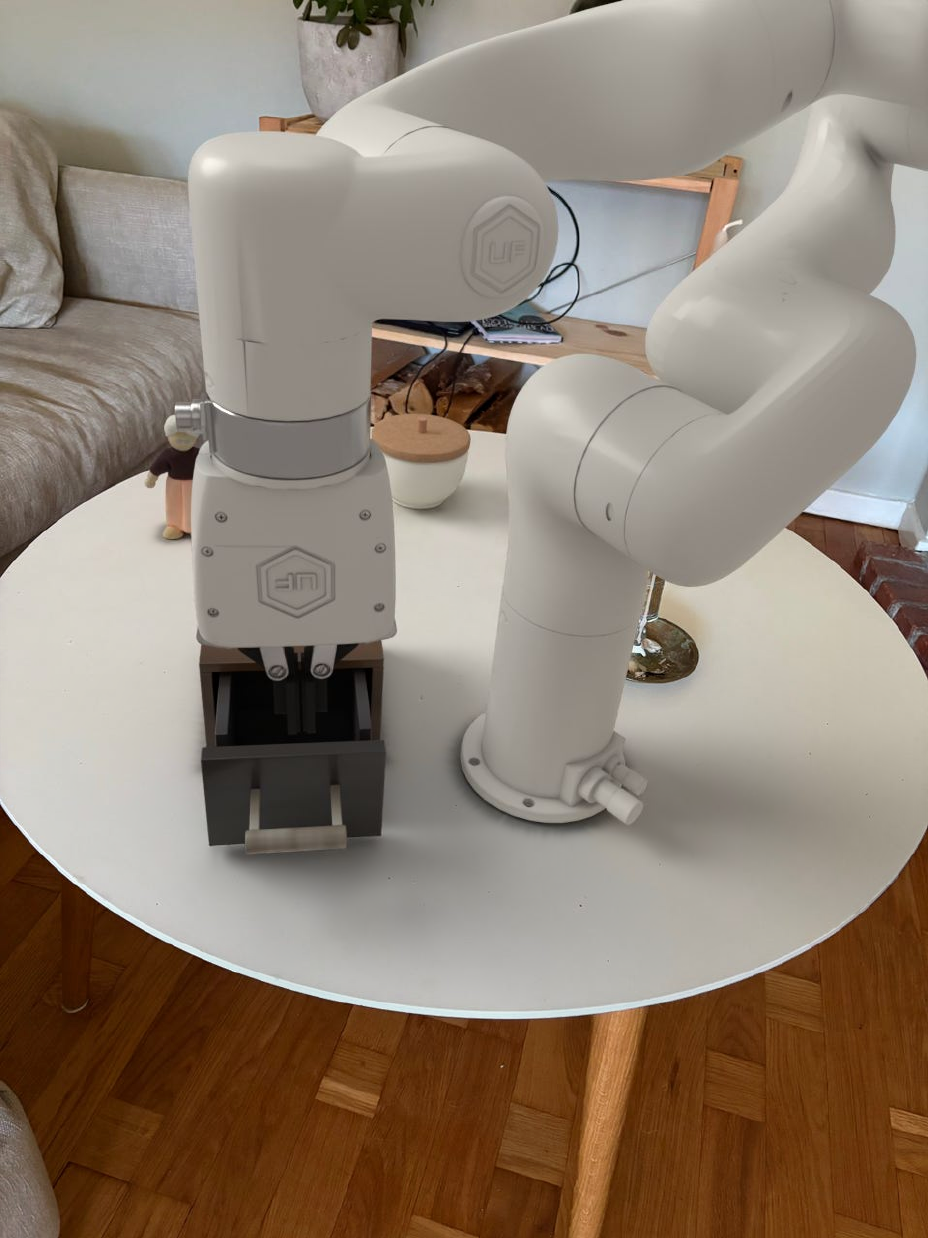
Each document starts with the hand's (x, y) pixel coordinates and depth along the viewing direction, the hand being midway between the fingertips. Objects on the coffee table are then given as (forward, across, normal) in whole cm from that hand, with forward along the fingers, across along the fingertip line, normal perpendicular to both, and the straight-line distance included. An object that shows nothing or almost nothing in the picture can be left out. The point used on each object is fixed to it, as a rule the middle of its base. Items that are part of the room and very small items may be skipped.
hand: (301, 717), depth 56 cm
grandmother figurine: (+14, -10, +45) cm, 48 cm away
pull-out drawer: (+12, -1, +6) cm, 14 cm away
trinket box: (+14, +14, +52) cm, 56 cm away
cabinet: (+13, -1, +17) cm, 22 cm away
